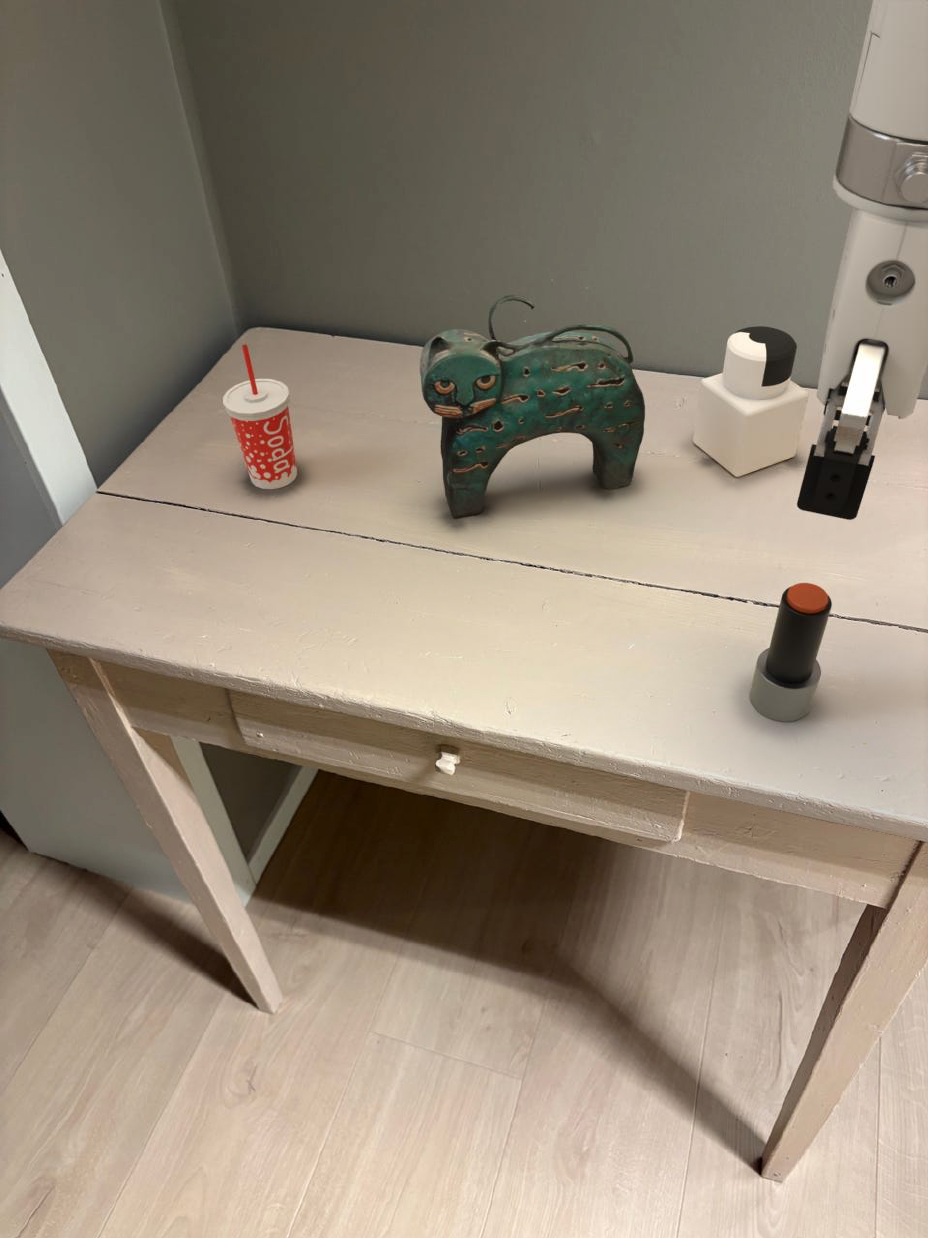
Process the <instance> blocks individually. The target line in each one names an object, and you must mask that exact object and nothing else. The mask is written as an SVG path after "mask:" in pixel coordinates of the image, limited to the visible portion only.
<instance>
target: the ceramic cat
mask: <svg viewBox="0 0 928 1238" xmlns="http://www.w3.org/2000/svg"><path fill="white" fill-rule="evenodd" d="M510 301H511V302H512V301H514V302H521V303H523V304H525V305H527V306H528V307H530V309H531V310H534V308H536V305H534V304H533V302H532V301H530V300H529V299H528V298H527V297H526V296H522V295H520V294H509V295H503V296H502V297H501V298H498V299H497V300H496V301H495V302H494V303H493V304H492V305H491V307H490V309H489V313H488V333H489V336H490V338H491V340H490V339H487V338H486V337H484V336H483V335H481V334H479V333H477V332H475V331H472V330H470V329H461V328H451V329H448V330H444V331H442V332H440V333H438V334H436V335H435V336H434V337H432V338H430V339H429V340H428V341H427V342H426V343H425V345H424V346H423V348H422V350H421V353H420V360H419V361H420V362H419V374H420V385H421V394H422V398H423V400H424V402H425V404H426V405H427V407H428V408H429V410H430V411H431V412H432V413H433V414H435V415H437V416H439V417H441V430H440V431H441V432H440V444H439V445H440V446H439V447H440V455H441V460H442V480H443V488H444V495H445V498H446V501H447V505H448V508H449V511H450V514H451V517H452V519H457V518H458V519H459V518H464V517H469V516H475V515H479V514H481V513H482V512H483V511H484V506H485V497H486V491H487V487H488V486H489V482H490V479H491V478H492V475H493V473H494V472H495V470H496V469H497V467H498V466H499V465H500V463H501V461H502V460H503V459H504V458H505V456H506V455H507V454H508V453H509V451H511V450H513V449H514V448H515V447H517V446H519V445H522V444H524V443H528V442H530V441H533V440H535V439H538V438H542V437H545V436H550V435H554V434H578V435H581V436H583V437H585V438H586V439H587V440H588V441H590V442H591V445H592V466H591V467H592V468H591V470H592V474H593V476H594V477H595V479H596V481H597V483H598V485H599V486H600V487H602V488H604V489H606V490H607V489H609V490H613V489H614V490H615V489H618V488H621V487H625V486H627V485H630V484H631V483H632V482H633V476H634V473H635V469H636V468H635V467H636V463H637V459H638V456H639V451H640V449H641V444H642V442H643V438H644V434H645V420H646V403H645V397H644V393H643V391H642V389H641V387H640V386H639V384H638V382H637V379H636V376H635V374H634V372H633V371H634V370H633V368H632V366H631V364H632V363H633V362H634V356H633V351H632V348H631V345H630V343H629V341H628V339H626V337H625V336H624V335H623V334H622V333H621V332H620V331H619V330H617V329H615V328H614V327H612V326H611V327H610V326H607V325H602V324H593V323H592V324H591V323H589V324H588V323H587V324H573V325H568V326H565V327H561V328H560V329H556V330H554V331H548V332H542V333H536V334H532V335H531V334H530V335H528V336H524V337H522V338H519V339H516V340H513V341H510V342H507V343H505V342H503V341H501V340H497V338H496V336H495V333H494V329H493V324H492V317H493V313H494V312H495V311H496V310H497V308H498V307H499V306H500V305H502V304H503V303H507V302H510ZM579 331H580V332H579ZM581 331H589V332H603V333H607V334H610V335H612V336H614V337H615V338H616V339H618V340H619V341H620V342H622V344H623V345H624V346H625V348H626V351H627V356H624V355H623V354H622V353H621V352H620V351H619V349H617V348H616V347H615V346H614V345H613V344H611V342H609V341H607V340H605V339H603V338H602V337H599V336H597V335H595V334H592V333H588V332H581Z"/></svg>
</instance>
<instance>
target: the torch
mask: <svg viewBox="0 0 928 1238" xmlns="http://www.w3.org/2000/svg"><path fill="white" fill-rule="evenodd" d="M832 606H833V603H832V599H831V597H830V595H829V594H828V593H827V592H826V590H825V589H824V588H822V587H821V586H819V585H817V584H814V583H810V582H799V583H796V584H793V585H791V586H789V587H787V588H786V589H784V591H783V593H782V595H781V598H780V603H779V605H778V611H777V615H776V618H775V622H774V627H773V631H772V636H771V640H770V643H769V647H767V648H766V649H764V650H763V651H762V652H761V653H760V654H759V655H758V657H757V659H756V664H755V669H754V672H753V677H752V681H751V686H750V690H749V699H750V702H751V705H752V707H754V709H755V710H756V712H758V713H759V714H761V715H762V716H764V717H766V718H767V719H770V720H773V721H777V722H786V723H787V722H794V721H798V720H800V719H803V718H804V717H806V715H808V714H809V712H810V710H811V709H812V705H813V702H814V699H815V695H816V692H817V688H818V685H819V683H820V679H821V675H822V669H821V665H820V662H819V661H818V660H817V658H818V654H819V650H820V647H821V644H822V640H823V638H824V633H825V630H826V627H827V624H828V620H829V617H830V613H831V609H832V608H833V607H832Z"/></svg>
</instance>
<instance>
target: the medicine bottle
mask: <svg viewBox="0 0 928 1238" xmlns="http://www.w3.org/2000/svg"><path fill="white" fill-rule="evenodd" d="M797 347H798V345H797V343H796V341H795V339H794V337H793V336H791V334H789V333H788V332H786V331H784V330H781V329H778V328H776V327H770V326H763V325H759V326H757V325H756V326H749V327H744V328H740V329H738V330H736V331H735V332H734V333H732V334H731V335H730V336H729V337H728V338H727V343H726V349H725V356H724V361H723V362H724V363H723V369H722V372H720V373H717V374H715V375H711V376H708V377H705V378H703V379H701V381H700V385H699V393H698V399H697V407H696V415H695V423H694V430H693V437H692V442H693V443H694V444H695V445H696V446H697V447H698V448H700V450H702V451H703V452H705V453H706V454H707V455H708V456H709V457H711V458H712V459H713V460H714V461H715V462H717V463H718V464H719V465H721V466H722V467H723V468H724V469H725V470H727V471H728V472H729V473H730V474H732V475H733V477H735V478H740V477H743V476H744V475H745V476H746V475H748V474H751V473H753V472H755V471H759V470H761V469H764V468H766V467H770V466H772V465H775V464H777V463H781V462H784V461H786V460H788V459H791V458H794V457H796V454H797V451H798V450H797V449H798V445H799V440H800V436H801V431H802V428H803V423H804V419H805V414H806V409H807V405H808V400H809V397H810V393H809V392H808V391H807V390H806V389H804V388H803V387H802V386H801V385H798V384H797V383H796V382H794V381H792V380H791V378H792V373H793V368H794V364H795V359H796V354H797Z"/></svg>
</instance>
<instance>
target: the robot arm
mask: <svg viewBox="0 0 928 1238" xmlns="http://www.w3.org/2000/svg"><path fill="white" fill-rule="evenodd" d="M862 45H863V46H862V50H861V55H860V59H859V64H858V68H857V74H856V77H855V83H854V88H853V91H852V95H851V102H850V106H849V110H848V112H847V117H846V122H845V125H844V131H843V134H842V139H841V143H840V148H839V153H838V157H837V161H836V166H835V169H834V170H835V172H834V175H833V179H832V184H831V185H832V190H833V192H834V193H835V195H836V196H837V197H838V198H839V199H840V200H841V201H843V202H844V203H846V204H847V205H849V206H851V207H853V208H852V212H851V216H850V220H849V224H848V229H847V232H846V237H845V241H844V246H843V250H842V255H841V259H840V263H839V267H838V273H837V277H836V281H835V286H834V291H833V296H832V300H831V304H830V310H829V316H828V322H827V326H826V327H827V328H826V333H825V338H824V344H823V350H822V357H821V363H820V369H819V370H820V371H819V375H818V383H817V390H816V397H817V399H818V401H819V402H820V403H821V404H822V406H824V409H823V420H822V424H821V427H820V430H819V435H818V438H817V442H816V444H814V443H812V444H811V447H810V450H809V454H808V458H807V462H806V466H805V470H804V474H803V478H802V482H801V486H800V490H799V493H798V497H797V501H796V507H797V508H798V509H799V510H800V511H804V512H808V513H814V514H819V515H822V516H826V517H827V516H828V517H832V518H836V519H837V518H838V519H843V520H847V521H851V520H855V519H856V518H857V517H858V515H859V514H858V513H859V510H860V507H861V505H862V501H863V498H864V495H865V491H866V488H867V485H868V482H869V479H870V476H871V473H872V469H873V466H874V463H875V458H876V455H873V451H874V448H875V444H876V439H877V437H878V432H879V429H880V425H881V422H882V418H883V415H884V412H885V411H886V414H887V416H892V417H893V416H894V417H897V418H898V420H904V419H906V418H909V417H910V416H911V415H912V414H913V413H914V412H915V407H916V404H917V401H918V398H919V394H920V391H921V387H922V384H923V381H924V378H925V374H926V371H927V368H928V0H872V3H871V7H870V13H869V17H868V22H867V26H866V31H865V35H864V40H863V44H862ZM834 421H837V423H838V424H837V425H834ZM865 427H867V428H866V430H865Z"/></svg>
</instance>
